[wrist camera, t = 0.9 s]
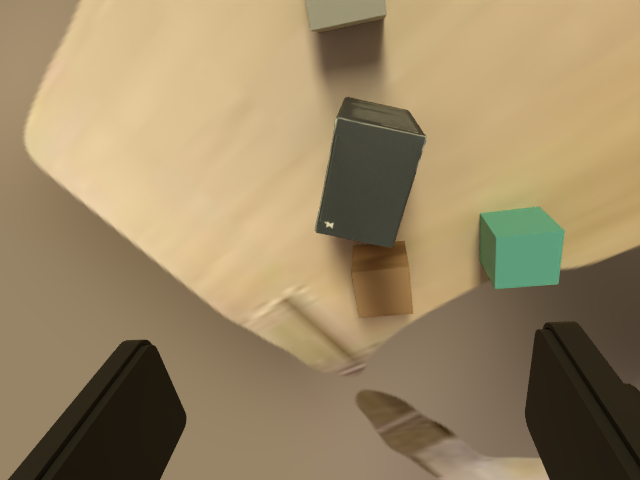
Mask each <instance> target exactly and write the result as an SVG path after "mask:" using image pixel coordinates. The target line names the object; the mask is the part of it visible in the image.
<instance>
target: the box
mask: <svg viewBox="0 0 640 480" xmlns="http://www.w3.org/2000/svg"><path fill="white" fill-rule="evenodd" d="M426 139H427V136H426V135H425V134H424V133H423V131H422V130H421V128H420V127H419V125H418V124H417V122H416V121H415V119H414V118H413V116H412V115H411V113H410V112H409V111H408V110H404V109H399V108H395V107H390V106H386V105H381V104H376V103H372V102H367V101H363V100H358V99H354V98H349V97H346V98H345V99H344V101H343V103H342V106H341V108H340V110H339V113H338V115H337V117H336V119H335V125H334V132H333V139H332V145H331V150H330V156H329V162H328V167H327V172H326V177H325V182H324V188H323V193H322V198H321V203H320V208H319V212H318V217H317V221H316V226H315V231H316V233H320V234H326V235H331V236H336V237H341V238H345V239H350V240H354V241H360V242H364V243H369V244H374V245H379V246H384V247H390V248H392V247H393V245H394V242H395V239H396V236H397V232H398V229H399V226H400V222H401V219H402V216H403V213H404V210H405V206H406V203H407V200H408V197H409V194H410V190H411V187H412V184H413V180H414V177H415V174H416V170H417V167H418V164H419V161H420V158H421V155H422V151H423V148H424V145H425V142H426Z"/></svg>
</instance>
